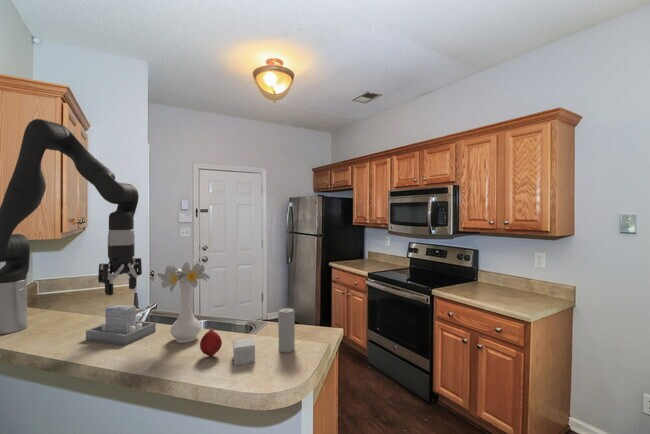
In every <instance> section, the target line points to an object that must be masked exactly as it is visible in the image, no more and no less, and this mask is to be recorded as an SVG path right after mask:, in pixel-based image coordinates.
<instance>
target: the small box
mask: <svg viewBox="0 0 650 434" xmlns="http://www.w3.org/2000/svg"><path fill="white" fill-rule="evenodd" d="M232 343H233V344H232V346H233V347H232V349H233V364H234V366H238V365H245V364H247V365H248V364H254V363H256V345H255V341H254V338H253V337H249V338H244V339H243V338H242V339H241V338H240V339H236V340H233V342H232Z"/></svg>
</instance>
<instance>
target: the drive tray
mask: <svg viewBox="0 0 650 434" xmlns="http://www.w3.org/2000/svg"><path fill="white" fill-rule="evenodd" d="M156 329H157V328H156V322H153V321H152V322H151V321H141V320H136V330H135V326H130V327H129V333H128V334H126V335H124V334H119V333H111V332H106V321H105V322H102V323H101V324H100V325H97V326H95V327H91V328H90V329H86V330H85V340H86V341H92V342H93V341H94V342H99V343H104V344H105V343H106V344H112V345H113V344H114V345H119V346H127V345H129V344H131V343H134V342H136V341H138V340H141V339H143V338H145V337H147V336H149V335H151V334H153V333H156V331H157V330H156Z"/></svg>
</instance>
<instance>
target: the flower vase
mask: <svg viewBox="0 0 650 434" xmlns="http://www.w3.org/2000/svg"><path fill="white" fill-rule="evenodd" d="M165 266H166V267H165V270H164V272H163V271H160V272H158V273H157V277H158V278H160V279H161V281H162V282H161V283H160V286H161V287H162V288H163V289H165V288H168V287H169V291H170V293H172V292H173V291H174V289H175V287H176V286H177V285H179V289H180V308H179V314H178V317H177V319H176V320H175V321H174V322H173V323H172V325H171V326H170V329H169V333H170V335H171V337H173V338H174V339H175V342H176V343H179V344H183V343H185V344H186V343H190V342H193V341H195V340H196V339H197V337H198V335H199V334H200V333H201V332H202V324H201V322H200V320H199V319H197V318H196V317H195V315H194V313H193V310H192V295H191V293H192V288H197V286H198V280H204V281H205V282H208V280H210V278H211V277H210V276H209V274H207V273H205V265H204V264H201V265H200V264H199V263H198V261H196V263H195V264H194V265H193V266H192V267H191V266H190V263H189V262H188V261H187V262H184V263H183V266H182V267H181V268H176V267H175V266H174V263H171V264H169V265H165ZM177 283H178V284H177Z"/></svg>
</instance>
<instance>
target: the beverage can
mask: <svg viewBox="0 0 650 434" xmlns="http://www.w3.org/2000/svg"><path fill="white" fill-rule="evenodd" d="M295 313H296V312H295V309H294V308H292V307H282V308H279V310H278V315H277V317H278V318H277V320H278V325H277V326H278V327H277V328H278V351H279V352H280V353H285V354H288V353H292V352H293V351H294V350H295V344H296V343H295V338H296V337H295V334H296V333H295V331H296V330H295V329H296V328H295V326H296V325H295V320H296V319H295V316H296V315H295Z"/></svg>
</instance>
